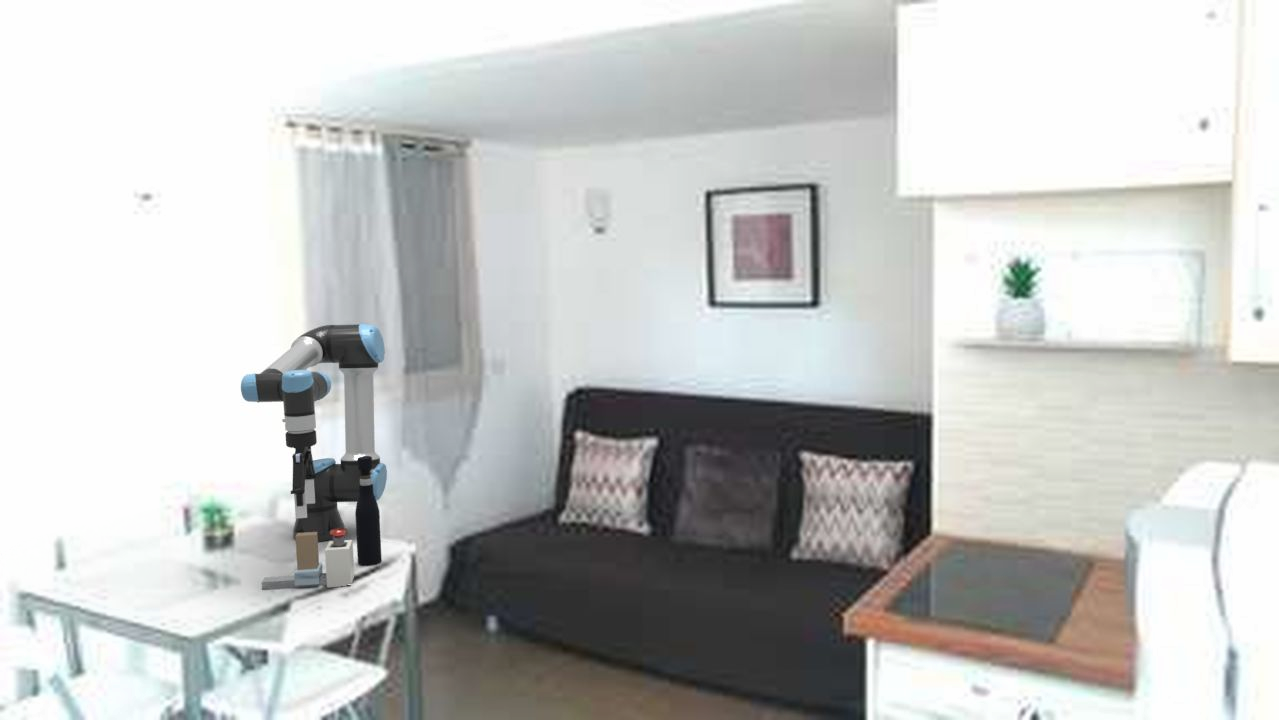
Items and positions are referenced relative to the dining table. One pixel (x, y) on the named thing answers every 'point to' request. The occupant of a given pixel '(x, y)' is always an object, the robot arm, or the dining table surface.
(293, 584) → the rail
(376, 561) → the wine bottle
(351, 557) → the white button housing
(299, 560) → the carriage
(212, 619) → the dining table surface
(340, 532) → the red mushroom push button
